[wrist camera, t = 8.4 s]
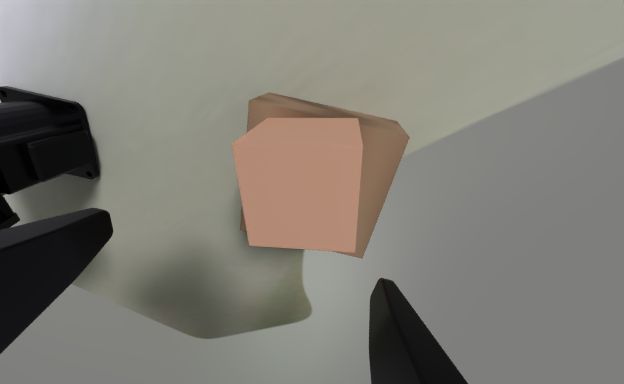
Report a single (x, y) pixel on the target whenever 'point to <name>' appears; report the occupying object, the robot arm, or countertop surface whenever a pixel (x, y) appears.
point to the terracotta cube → (301, 182)
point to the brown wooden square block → (375, 158)
